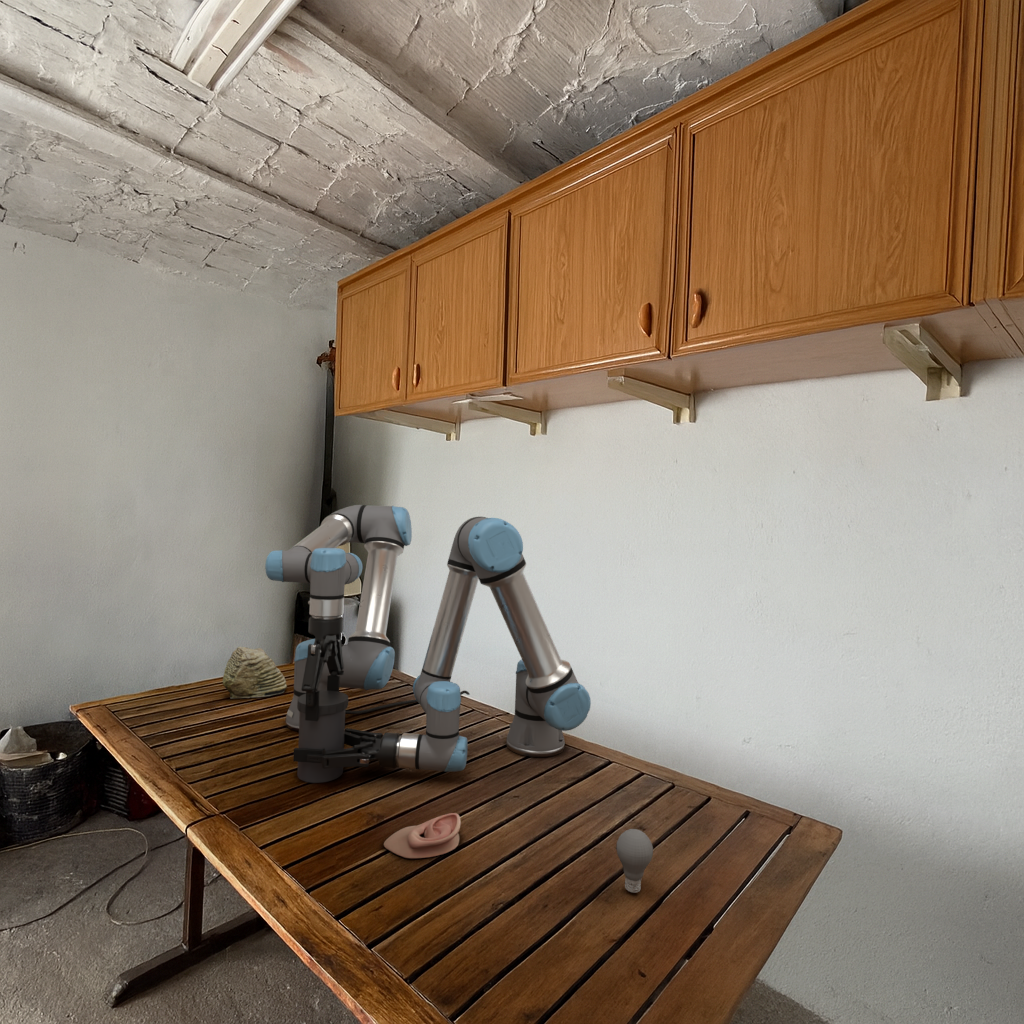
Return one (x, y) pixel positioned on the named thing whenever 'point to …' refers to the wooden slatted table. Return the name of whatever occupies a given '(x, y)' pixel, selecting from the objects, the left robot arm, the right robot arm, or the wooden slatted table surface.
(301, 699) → the lid
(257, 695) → the fossil
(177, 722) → the wooden slatted table surface
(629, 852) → the light bulb
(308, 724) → the jar
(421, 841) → the anatomical model
